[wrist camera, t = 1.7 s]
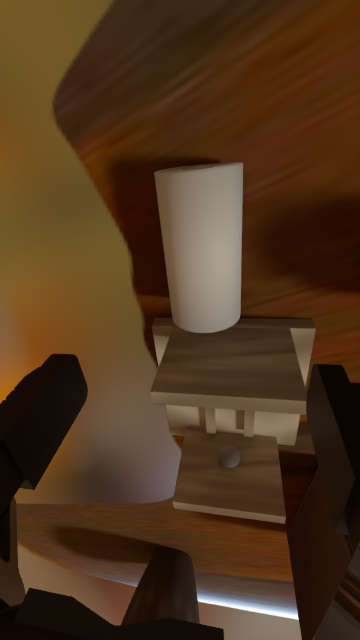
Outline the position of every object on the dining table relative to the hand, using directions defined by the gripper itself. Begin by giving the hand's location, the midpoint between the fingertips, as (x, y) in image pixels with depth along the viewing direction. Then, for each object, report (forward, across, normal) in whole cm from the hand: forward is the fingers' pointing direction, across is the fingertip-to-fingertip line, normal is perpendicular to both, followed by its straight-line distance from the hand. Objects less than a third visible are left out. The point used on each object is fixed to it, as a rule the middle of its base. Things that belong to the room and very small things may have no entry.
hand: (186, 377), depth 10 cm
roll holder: (+16, -1, +15) cm, 22 cm away
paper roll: (+13, +1, 0) cm, 13 cm away
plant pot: (+16, +10, +63) cm, 66 cm away
